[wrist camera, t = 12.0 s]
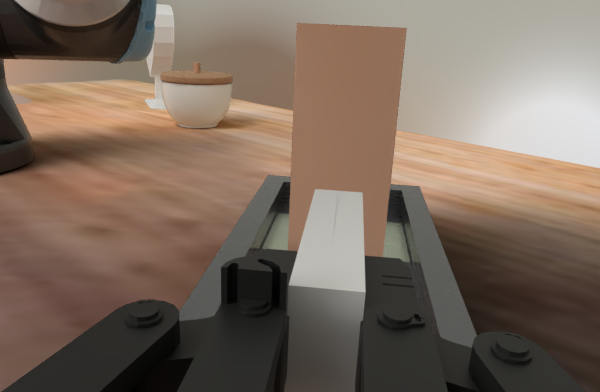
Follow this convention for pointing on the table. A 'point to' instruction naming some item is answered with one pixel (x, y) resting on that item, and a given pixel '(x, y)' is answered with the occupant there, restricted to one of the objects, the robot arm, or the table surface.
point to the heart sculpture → (161, 51)
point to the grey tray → (398, 244)
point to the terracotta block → (345, 121)
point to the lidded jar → (196, 96)
